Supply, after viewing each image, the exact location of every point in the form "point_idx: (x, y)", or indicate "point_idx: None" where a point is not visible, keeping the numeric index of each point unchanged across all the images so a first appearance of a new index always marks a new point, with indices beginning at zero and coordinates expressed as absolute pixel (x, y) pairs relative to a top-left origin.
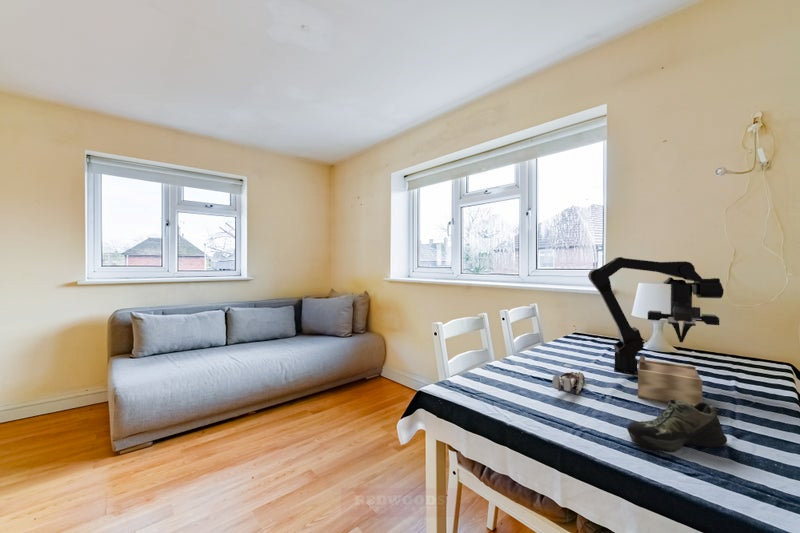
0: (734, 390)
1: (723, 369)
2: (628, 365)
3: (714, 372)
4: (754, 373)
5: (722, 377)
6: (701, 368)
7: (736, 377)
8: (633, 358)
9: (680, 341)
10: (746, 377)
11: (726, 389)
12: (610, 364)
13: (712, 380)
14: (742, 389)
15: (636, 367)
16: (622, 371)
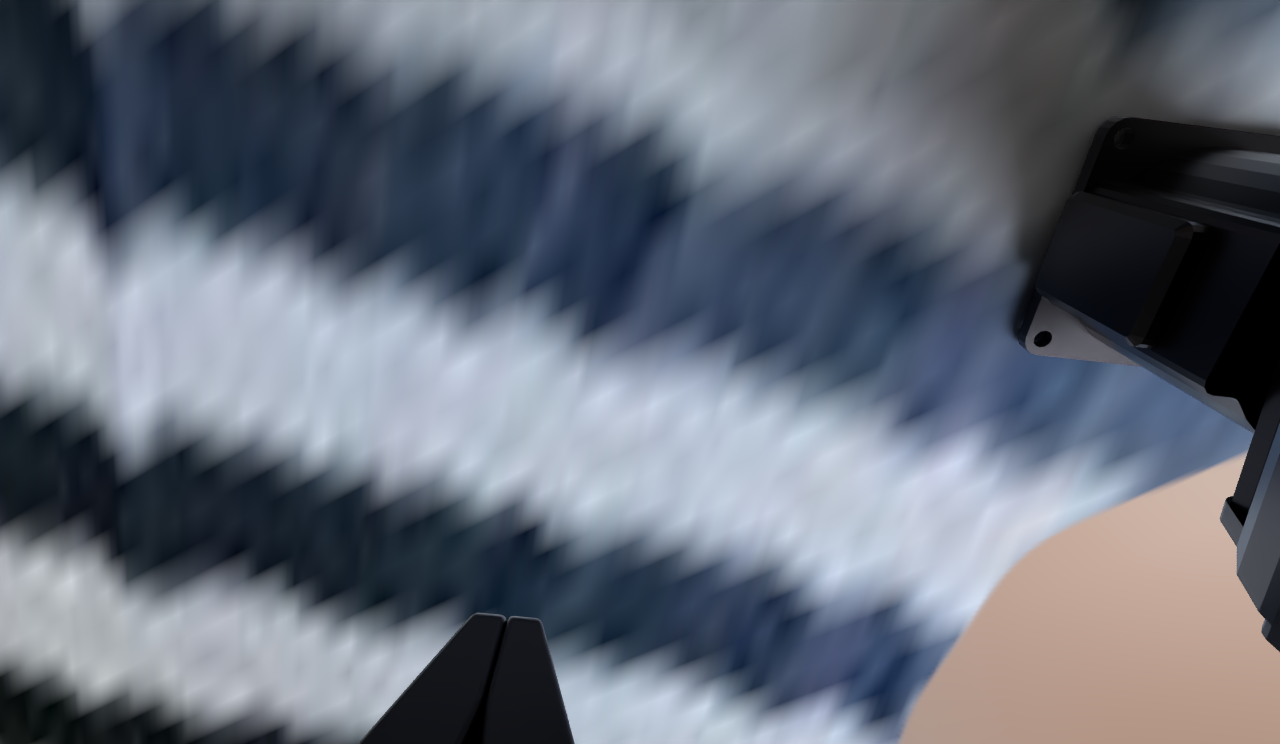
0: (101, 26)
1: (212, 728)
2: (1256, 162)
3: (276, 617)
4: (10, 720)
5: (217, 492)
6: (366, 685)
7: (115, 549)
8: (1273, 221)
9: (520, 626)
10: (48, 586)
11: (176, 19)
12: (1224, 440)
13: (299, 337)
14: (36, 128)
15: (1117, 198)
16: (1254, 135)
